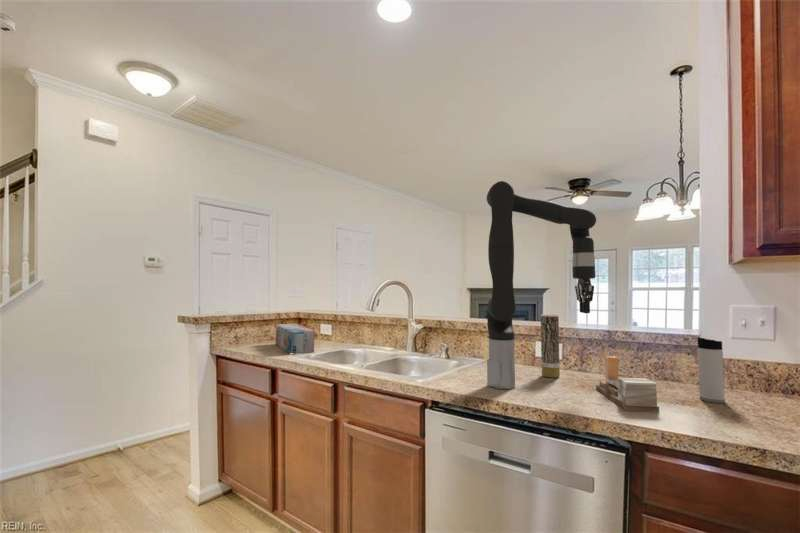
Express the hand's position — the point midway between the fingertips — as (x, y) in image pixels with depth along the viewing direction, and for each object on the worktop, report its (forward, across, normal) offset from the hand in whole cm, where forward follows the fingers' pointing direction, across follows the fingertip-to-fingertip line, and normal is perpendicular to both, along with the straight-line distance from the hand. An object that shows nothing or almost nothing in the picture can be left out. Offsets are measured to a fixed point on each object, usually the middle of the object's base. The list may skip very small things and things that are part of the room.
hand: (584, 312), depth 138 cm
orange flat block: (+25, -8, -7) cm, 28 cm away
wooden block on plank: (+27, -13, -7) cm, 31 cm away
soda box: (+28, +68, +142) cm, 159 cm away
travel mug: (+27, -10, -35) cm, 45 cm away
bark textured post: (+27, +16, +8) cm, 33 cm away
